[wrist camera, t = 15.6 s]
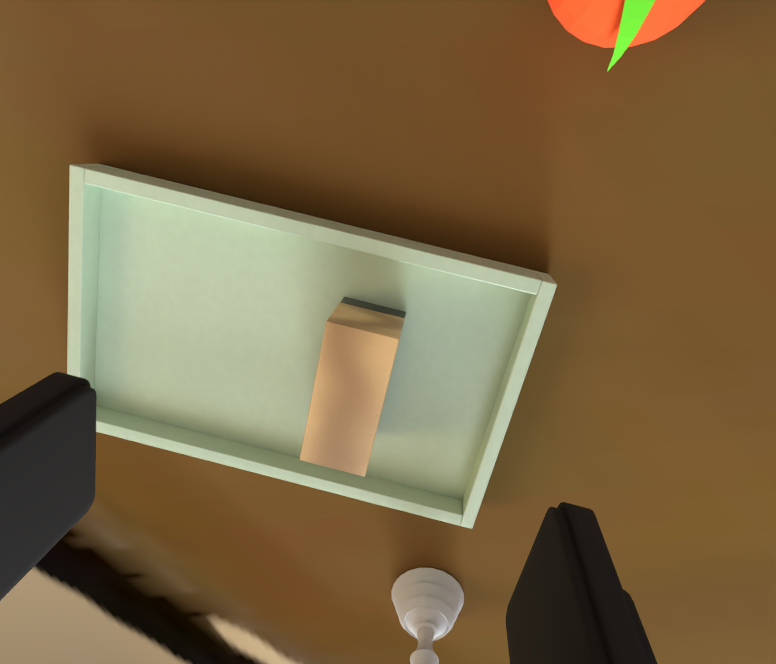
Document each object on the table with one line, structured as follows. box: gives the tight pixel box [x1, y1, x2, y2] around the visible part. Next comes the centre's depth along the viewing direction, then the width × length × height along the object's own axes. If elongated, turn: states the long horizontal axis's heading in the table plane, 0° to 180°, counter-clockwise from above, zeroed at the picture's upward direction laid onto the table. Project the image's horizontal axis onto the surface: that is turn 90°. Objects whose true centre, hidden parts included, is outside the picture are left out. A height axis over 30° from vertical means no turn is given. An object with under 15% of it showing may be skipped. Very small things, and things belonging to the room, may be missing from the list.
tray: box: [67, 163, 557, 528], centre depth 30 cm, size 26×16×2 cm, turn 77°
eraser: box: [300, 297, 406, 476], centre depth 28 cm, size 4×8×4 cm, turn 167°
